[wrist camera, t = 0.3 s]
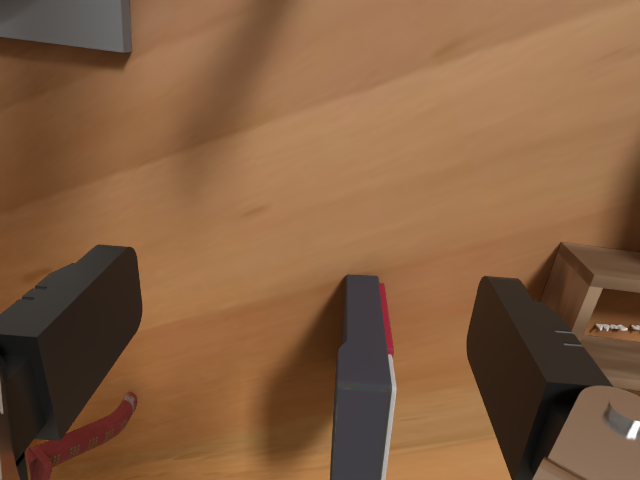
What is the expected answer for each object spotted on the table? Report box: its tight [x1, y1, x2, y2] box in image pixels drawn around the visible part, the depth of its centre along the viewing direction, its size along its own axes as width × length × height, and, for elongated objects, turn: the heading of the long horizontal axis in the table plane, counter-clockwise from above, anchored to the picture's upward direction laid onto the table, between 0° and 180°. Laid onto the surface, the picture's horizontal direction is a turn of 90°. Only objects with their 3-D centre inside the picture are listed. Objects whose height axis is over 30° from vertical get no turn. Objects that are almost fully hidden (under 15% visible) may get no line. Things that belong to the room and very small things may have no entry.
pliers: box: [26, 392, 137, 480], centre depth 40 cm, size 12×20×3 cm
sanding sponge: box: [330, 275, 396, 480], centre depth 38 cm, size 11×4×15 cm, turn 178°
